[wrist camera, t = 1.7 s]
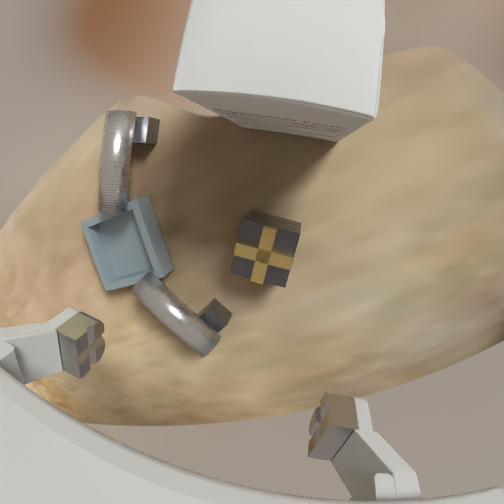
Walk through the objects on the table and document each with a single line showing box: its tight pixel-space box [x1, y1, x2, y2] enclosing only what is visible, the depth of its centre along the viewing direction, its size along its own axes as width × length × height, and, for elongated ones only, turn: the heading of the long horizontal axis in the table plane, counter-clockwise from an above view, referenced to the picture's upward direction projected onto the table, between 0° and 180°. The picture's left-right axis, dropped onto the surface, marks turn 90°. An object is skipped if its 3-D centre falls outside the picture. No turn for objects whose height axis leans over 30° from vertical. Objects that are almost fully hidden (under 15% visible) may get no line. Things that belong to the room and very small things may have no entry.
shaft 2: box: [131, 271, 232, 358], centre depth 29 cm, size 9×4×5 cm, turn 47°
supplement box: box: [172, 0, 385, 142], centre depth 17 cm, size 9×9×15 cm
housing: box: [81, 195, 174, 291], centre depth 29 cm, size 8×8×2 cm
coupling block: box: [230, 210, 301, 287], centre depth 25 cm, size 4×4×5 cm
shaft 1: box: [98, 110, 160, 214], centre depth 25 cm, size 9×4×5 cm, turn 172°
